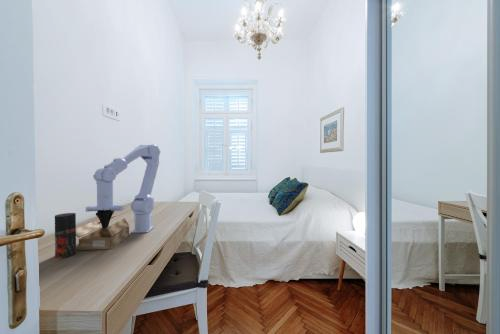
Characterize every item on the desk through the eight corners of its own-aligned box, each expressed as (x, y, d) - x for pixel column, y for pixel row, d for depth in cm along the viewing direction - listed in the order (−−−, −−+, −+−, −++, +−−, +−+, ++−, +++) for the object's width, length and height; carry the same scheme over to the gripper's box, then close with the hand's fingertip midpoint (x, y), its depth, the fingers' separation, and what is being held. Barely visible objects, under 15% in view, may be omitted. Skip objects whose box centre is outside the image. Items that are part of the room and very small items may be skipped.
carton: (102, 236, 101) (102, 226, 101) (129, 235, 103) (129, 226, 103) (78, 250, 85) (78, 239, 85) (110, 249, 86) (110, 238, 86)
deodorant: (80, 252, 83) (79, 213, 83) (62, 259, 77) (62, 217, 77) (68, 251, 85) (68, 212, 84) (50, 257, 79) (50, 216, 79)
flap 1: (101, 226, 101) (93, 221, 100) (101, 226, 101) (94, 221, 100) (79, 237, 86) (70, 232, 85) (79, 237, 86) (70, 231, 85)
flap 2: (128, 225, 102) (123, 218, 102) (129, 225, 102) (124, 218, 102) (111, 236, 87) (106, 228, 87) (112, 236, 87) (106, 227, 87)
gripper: (80, 197, 89) (81, 231, 89) (118, 197, 90) (118, 230, 91) (91, 195, 96) (91, 226, 96) (126, 194, 97) (126, 225, 98)
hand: (105, 227), depth 94 cm, fingers closed
